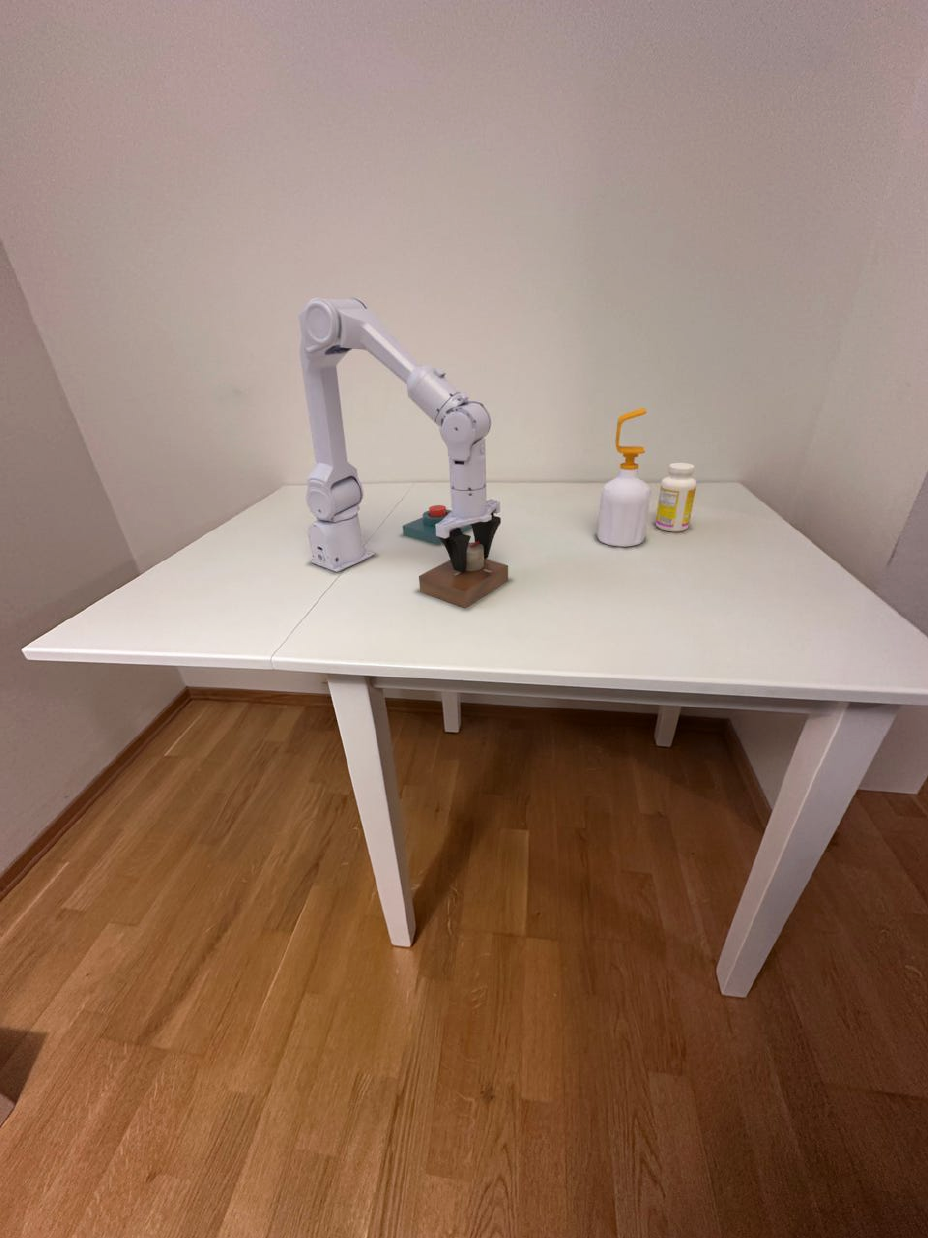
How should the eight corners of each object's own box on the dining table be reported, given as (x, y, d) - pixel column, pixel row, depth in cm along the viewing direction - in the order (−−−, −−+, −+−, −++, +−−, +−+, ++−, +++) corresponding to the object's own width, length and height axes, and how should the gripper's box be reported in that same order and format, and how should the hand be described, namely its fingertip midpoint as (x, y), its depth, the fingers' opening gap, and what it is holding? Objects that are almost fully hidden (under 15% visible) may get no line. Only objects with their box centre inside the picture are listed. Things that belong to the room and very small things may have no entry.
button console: (438, 545, 105) (436, 526, 102) (403, 535, 110) (401, 517, 108) (474, 527, 112) (473, 509, 110) (440, 518, 118) (439, 502, 116)
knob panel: (465, 608, 82) (464, 591, 80) (420, 591, 87) (418, 575, 86) (509, 579, 90) (509, 563, 88) (465, 566, 95) (464, 550, 94)
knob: (473, 573, 86) (472, 552, 84) (453, 567, 88) (452, 547, 86) (489, 564, 88) (488, 544, 86) (469, 558, 91) (468, 538, 89)
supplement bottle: (683, 521, 110) (694, 460, 104) (692, 532, 105) (704, 469, 98) (651, 521, 111) (660, 461, 104) (658, 532, 105) (668, 470, 99)
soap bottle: (645, 548, 99) (666, 413, 86) (597, 546, 100) (610, 414, 88) (641, 531, 106) (660, 405, 94) (596, 530, 108) (608, 405, 95)
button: (438, 519, 107) (438, 511, 106) (426, 516, 109) (425, 508, 108) (449, 514, 110) (449, 506, 109) (437, 511, 112) (436, 503, 111)
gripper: (458, 502, 74) (462, 585, 81) (515, 478, 83) (514, 554, 90) (423, 494, 78) (429, 574, 85) (480, 472, 87) (482, 545, 94)
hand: (471, 563), depth 88 cm, fingers open, 6 cm apart
